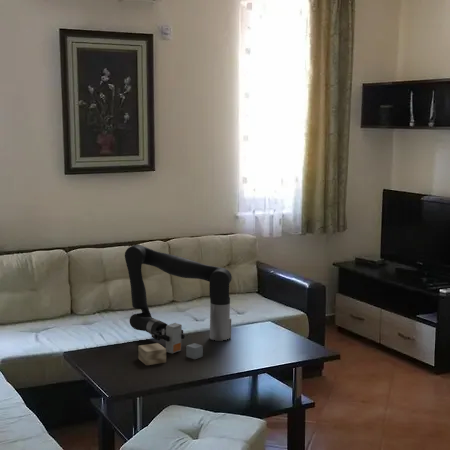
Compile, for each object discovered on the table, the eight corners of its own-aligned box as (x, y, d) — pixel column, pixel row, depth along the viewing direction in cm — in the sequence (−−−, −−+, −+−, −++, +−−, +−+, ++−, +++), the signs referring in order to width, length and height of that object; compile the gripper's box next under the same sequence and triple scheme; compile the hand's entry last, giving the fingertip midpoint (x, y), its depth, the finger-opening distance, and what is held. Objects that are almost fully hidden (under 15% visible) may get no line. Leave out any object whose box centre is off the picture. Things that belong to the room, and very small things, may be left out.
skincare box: (172, 353, 301) (172, 327, 299) (165, 351, 304) (165, 325, 302) (181, 350, 306) (182, 324, 304) (174, 348, 308) (174, 322, 307)
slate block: (194, 354, 302) (194, 343, 301) (202, 356, 298) (202, 345, 298) (186, 356, 298) (186, 345, 297) (194, 359, 295) (194, 348, 294)
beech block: (158, 356, 298) (158, 343, 297) (166, 362, 290) (166, 349, 289) (138, 359, 294) (138, 345, 293) (146, 365, 286) (146, 351, 285)
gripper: (143, 323, 311) (162, 332, 297) (171, 318, 319) (190, 327, 306) (143, 339, 312) (161, 348, 298) (171, 334, 320) (190, 343, 307)
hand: (176, 337), depth 302 cm, fingers closed on skincare box, 7 cm apart
